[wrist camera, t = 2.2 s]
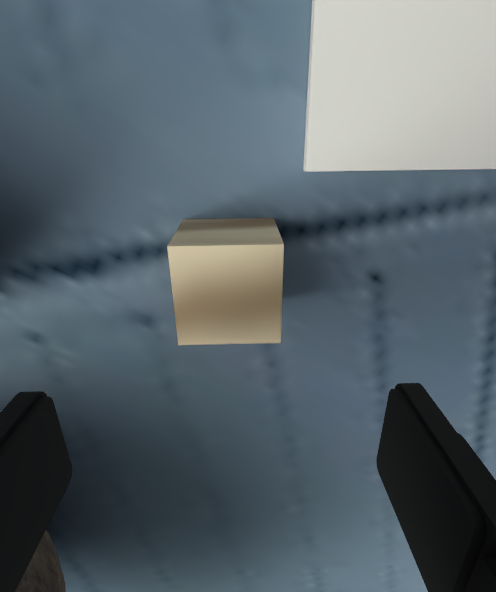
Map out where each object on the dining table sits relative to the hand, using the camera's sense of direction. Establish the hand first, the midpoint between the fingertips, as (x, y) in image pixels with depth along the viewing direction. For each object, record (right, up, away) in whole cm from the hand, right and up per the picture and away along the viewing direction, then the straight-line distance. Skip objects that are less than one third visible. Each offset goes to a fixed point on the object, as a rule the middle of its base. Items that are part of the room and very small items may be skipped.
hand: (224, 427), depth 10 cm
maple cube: (0, +6, +11) cm, 12 cm away
